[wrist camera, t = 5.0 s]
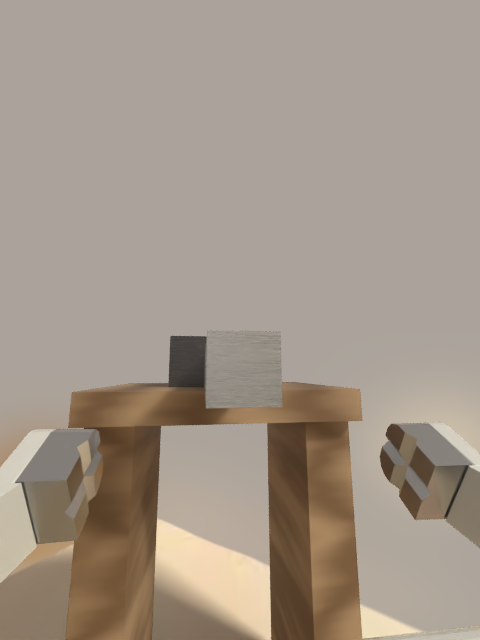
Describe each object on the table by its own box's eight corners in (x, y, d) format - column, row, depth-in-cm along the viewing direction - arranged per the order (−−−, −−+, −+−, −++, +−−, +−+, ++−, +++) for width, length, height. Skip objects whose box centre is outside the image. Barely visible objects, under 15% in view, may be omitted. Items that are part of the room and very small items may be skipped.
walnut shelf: (11, 1013, 13) (71, 392, 17) (111, 679, 26) (130, 383, 31) (398, 916, 15) (360, 389, 19) (304, 654, 28) (295, 382, 33)
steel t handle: (115, 410, 9) (124, 284, 10) (173, 385, 27) (175, 341, 27) (360, 405, 10) (352, 292, 11) (260, 384, 28) (259, 342, 28)
